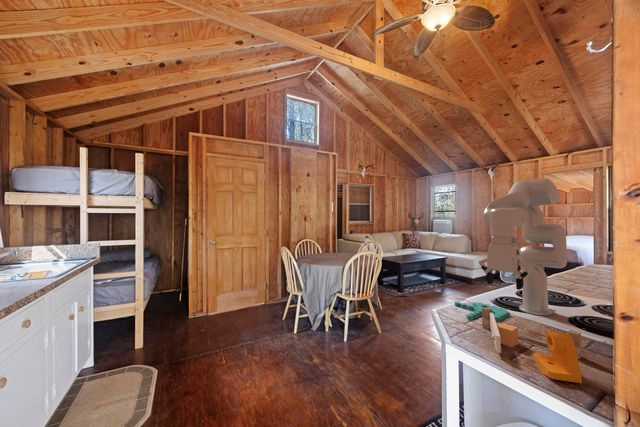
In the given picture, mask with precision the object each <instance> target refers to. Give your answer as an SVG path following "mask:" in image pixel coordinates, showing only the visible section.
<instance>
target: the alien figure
mask: <svg viewBox="0 0 640 427" xmlns="http://www.w3.org/2000/svg"><path fill="white" fill-rule="evenodd" d="M453 303H454V306H455V307H460V308H461V309H467V310H468V311H473V312H469V313H466V319H467V320H468V321H474V319H478V318H481V316H482V308H484V307H486V308H490V309H491V313H493V315H494V318H495V321H496V322H501V323H502V321H504V320H505V319H508V317H511V313H510V311H508V310H507V309H505V308H504V307H498V306H496V305H491V304H489V303H488V304H487V303H483V302H472V304H466V303H462V302H460V301H454V302H453Z"/></svg>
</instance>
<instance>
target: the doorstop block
mask: <svg viewBox="0 0 640 427" xmlns="http://www.w3.org/2000/svg"><path fill="white" fill-rule="evenodd" d="M497 327H498V331H499V334H500V340H501V345H504V346H506V347H509V348H514V347H515V346H517V345H519V338H518V334H519V327H518V326H515V325H512V324H508V323H505V322H501V323H500V324H497Z"/></svg>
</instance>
